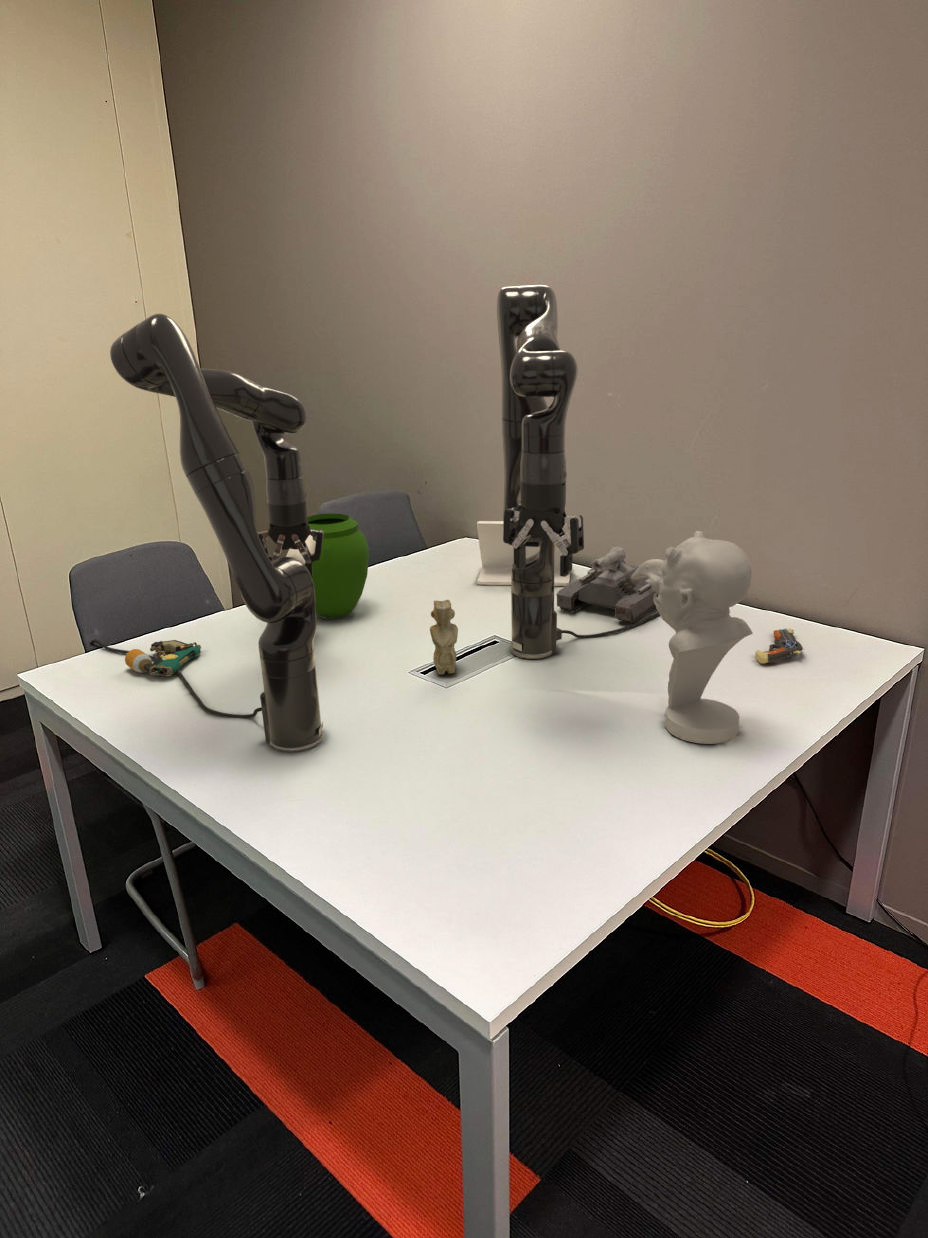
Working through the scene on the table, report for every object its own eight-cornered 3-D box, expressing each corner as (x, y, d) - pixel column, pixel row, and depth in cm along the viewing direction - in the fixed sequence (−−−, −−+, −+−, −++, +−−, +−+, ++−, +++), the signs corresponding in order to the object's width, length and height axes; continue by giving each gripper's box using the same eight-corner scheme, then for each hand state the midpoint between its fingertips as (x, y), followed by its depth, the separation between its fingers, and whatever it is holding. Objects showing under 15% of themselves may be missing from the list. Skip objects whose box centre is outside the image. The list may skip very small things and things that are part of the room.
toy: (603, 584, 229) (605, 530, 224) (673, 597, 218) (677, 540, 213) (555, 612, 210) (556, 553, 205) (630, 627, 199) (633, 566, 194)
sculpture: (458, 662, 183) (456, 596, 178) (460, 676, 176) (457, 608, 171) (431, 663, 183) (428, 597, 177) (431, 677, 176) (428, 609, 171)
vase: (389, 608, 216) (383, 514, 208) (339, 633, 201) (330, 533, 192) (330, 596, 226) (322, 506, 218) (278, 619, 211) (267, 523, 202)
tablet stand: (569, 585, 229) (570, 524, 223) (476, 584, 232) (475, 523, 226) (570, 566, 246) (571, 508, 240) (484, 564, 249) (483, 507, 243)
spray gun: (168, 648, 197) (219, 659, 191) (111, 671, 183) (165, 685, 177) (166, 630, 196) (218, 641, 190) (109, 653, 181) (164, 665, 176)
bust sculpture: (671, 682, 170) (682, 511, 158) (763, 732, 151) (784, 540, 138) (606, 701, 164) (613, 523, 151) (694, 755, 144) (709, 555, 131)
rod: (294, 556, 194) (291, 533, 192) (317, 555, 194) (315, 533, 193) (278, 590, 172) (276, 565, 170) (305, 589, 173) (303, 564, 171)
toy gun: (758, 654, 176) (809, 651, 174) (746, 627, 194) (792, 624, 192) (758, 667, 177) (809, 664, 175) (747, 638, 195) (793, 635, 193)
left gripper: (246, 504, 165) (255, 587, 171) (320, 502, 166) (327, 585, 172) (253, 495, 172) (261, 575, 178) (324, 494, 173) (330, 573, 179)
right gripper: (494, 478, 141) (495, 571, 147) (571, 486, 134) (569, 584, 140) (517, 470, 147) (517, 560, 153) (592, 477, 140) (590, 572, 145)
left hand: (293, 580), depth 175 cm, fingers closed on rod, 5 cm apart
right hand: (542, 571), depth 146 cm, fingers open, 8 cm apart
